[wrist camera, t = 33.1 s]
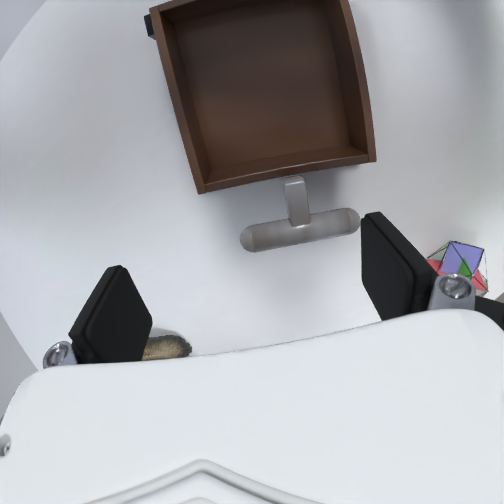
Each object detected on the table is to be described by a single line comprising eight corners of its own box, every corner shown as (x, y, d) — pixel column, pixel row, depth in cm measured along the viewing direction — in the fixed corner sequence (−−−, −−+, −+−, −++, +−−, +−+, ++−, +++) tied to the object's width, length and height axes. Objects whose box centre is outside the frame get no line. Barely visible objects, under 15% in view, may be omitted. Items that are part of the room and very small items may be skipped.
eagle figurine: (129, 374, 34) (192, 391, 32) (99, 392, 27) (170, 416, 25) (130, 320, 34) (196, 333, 33) (97, 329, 27) (172, 348, 26)
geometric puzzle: (403, 299, 26) (466, 336, 21) (422, 238, 23) (496, 276, 17) (427, 273, 30) (481, 302, 25) (443, 220, 27) (504, 249, 21)
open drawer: (167, 23, 13) (133, -3, 8) (322, -5, 12) (353, -39, 7) (219, 217, 21) (209, 266, 15) (357, 191, 20) (394, 230, 14)
